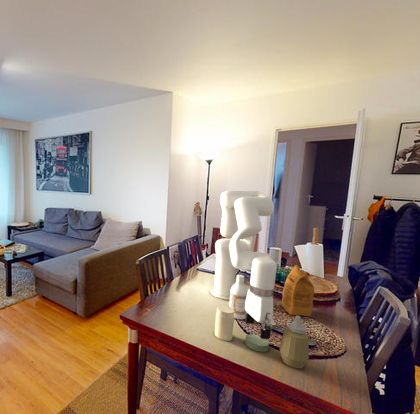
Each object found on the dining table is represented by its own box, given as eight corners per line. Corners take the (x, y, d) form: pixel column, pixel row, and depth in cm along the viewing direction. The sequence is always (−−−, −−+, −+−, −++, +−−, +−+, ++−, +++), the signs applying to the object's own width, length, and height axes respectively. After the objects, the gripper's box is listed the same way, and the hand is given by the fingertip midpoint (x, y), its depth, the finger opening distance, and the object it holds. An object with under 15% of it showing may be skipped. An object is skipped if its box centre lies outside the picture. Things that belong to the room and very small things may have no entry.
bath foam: (230, 318, 127) (234, 277, 124) (226, 311, 134) (230, 272, 131) (248, 321, 125) (251, 279, 122) (243, 313, 131) (246, 273, 129)
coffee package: (302, 306, 137) (307, 264, 134) (314, 319, 126) (320, 273, 122) (278, 303, 141) (282, 262, 138) (287, 315, 129) (292, 271, 126)
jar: (221, 329, 118) (223, 303, 117) (235, 337, 113) (238, 310, 111) (211, 333, 116) (213, 307, 114) (225, 342, 110) (228, 314, 108)
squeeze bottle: (272, 356, 102) (277, 311, 99) (292, 354, 102) (298, 309, 100) (292, 372, 94) (298, 323, 91) (314, 370, 94) (320, 322, 92)
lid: (271, 353, 103) (271, 347, 103) (248, 349, 106) (248, 343, 105) (264, 341, 110) (265, 336, 110) (242, 338, 113) (243, 332, 112)
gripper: (238, 280, 114) (234, 317, 117) (265, 301, 97) (260, 344, 100) (257, 280, 113) (253, 318, 116) (288, 301, 96) (282, 345, 99)
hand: (256, 330), depth 108 cm, fingers open, 9 cm apart
